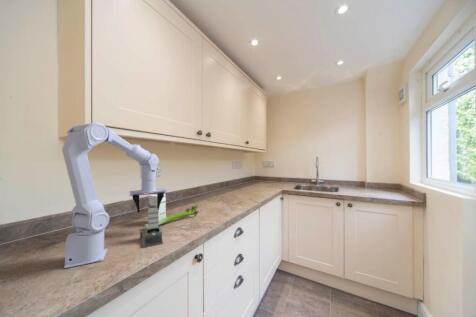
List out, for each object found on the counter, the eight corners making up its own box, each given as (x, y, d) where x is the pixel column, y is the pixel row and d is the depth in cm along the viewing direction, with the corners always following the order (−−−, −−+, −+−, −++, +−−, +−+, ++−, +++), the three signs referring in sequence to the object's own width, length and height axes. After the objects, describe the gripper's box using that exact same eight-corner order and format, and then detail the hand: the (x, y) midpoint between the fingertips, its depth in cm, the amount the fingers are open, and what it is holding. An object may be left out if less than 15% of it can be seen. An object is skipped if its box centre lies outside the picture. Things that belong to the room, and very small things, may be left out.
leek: (141, 231, 86) (193, 212, 109) (148, 238, 82) (201, 217, 105) (141, 219, 85) (194, 202, 108) (148, 226, 81) (202, 207, 104)
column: (148, 229, 72) (148, 210, 72) (148, 226, 76) (148, 208, 76) (158, 227, 74) (158, 209, 74) (157, 225, 77) (158, 207, 77)
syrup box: (166, 221, 96) (166, 193, 96) (158, 225, 90) (158, 195, 90) (157, 220, 97) (157, 193, 98) (149, 224, 92) (148, 195, 92)
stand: (142, 248, 67) (142, 236, 67) (142, 232, 82) (142, 222, 82) (162, 243, 70) (162, 233, 70) (159, 229, 85) (159, 220, 85)
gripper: (165, 178, 88) (165, 207, 88) (130, 180, 82) (130, 210, 81) (166, 180, 82) (166, 210, 82) (129, 181, 75) (129, 214, 75)
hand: (148, 210), depth 81 cm, fingers open, 7 cm apart
